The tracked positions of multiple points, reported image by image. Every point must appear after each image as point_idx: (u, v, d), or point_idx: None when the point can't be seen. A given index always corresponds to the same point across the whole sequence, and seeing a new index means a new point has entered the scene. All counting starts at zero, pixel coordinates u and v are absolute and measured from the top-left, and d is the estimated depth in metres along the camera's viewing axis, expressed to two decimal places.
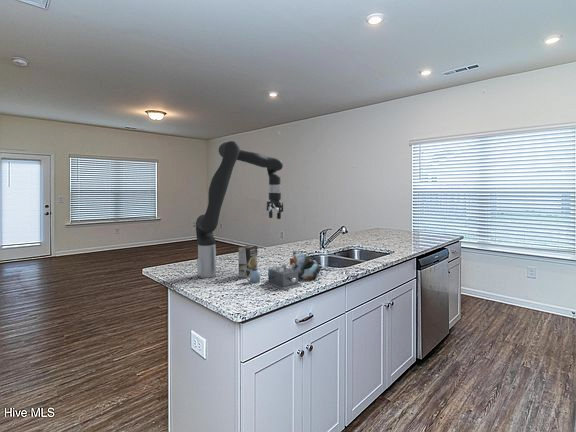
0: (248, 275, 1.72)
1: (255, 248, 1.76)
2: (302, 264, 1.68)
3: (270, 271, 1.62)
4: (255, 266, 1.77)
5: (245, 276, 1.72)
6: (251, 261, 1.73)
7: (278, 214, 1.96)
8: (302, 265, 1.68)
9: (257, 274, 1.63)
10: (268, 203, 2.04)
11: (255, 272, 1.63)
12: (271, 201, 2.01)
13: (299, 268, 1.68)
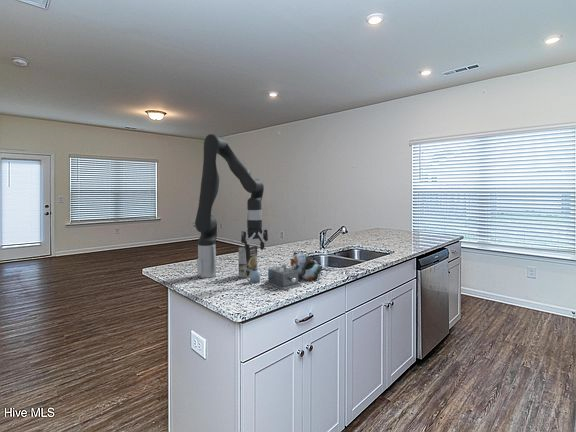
0: (248, 275, 1.72)
1: (255, 248, 1.76)
2: (303, 264, 1.68)
3: (270, 271, 1.62)
4: (255, 266, 1.77)
5: (245, 276, 1.72)
6: (251, 261, 1.73)
7: (263, 244, 1.67)
8: (303, 265, 1.68)
9: (257, 274, 1.63)
10: (245, 233, 1.60)
11: (255, 272, 1.63)
12: (252, 230, 1.62)
13: (300, 268, 1.67)
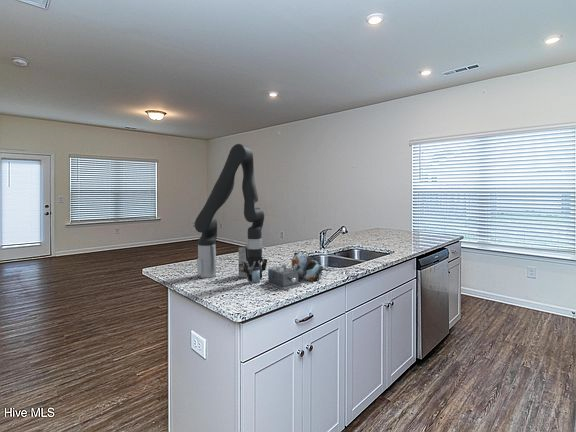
0: None
1: None
2: (304, 265, 1.67)
3: (270, 271, 1.62)
4: None
5: (245, 276, 1.72)
6: None
7: (261, 274, 1.67)
8: (304, 266, 1.67)
9: (257, 274, 1.63)
10: (246, 264, 1.61)
11: (255, 272, 1.63)
12: (252, 259, 1.63)
13: (301, 269, 1.66)
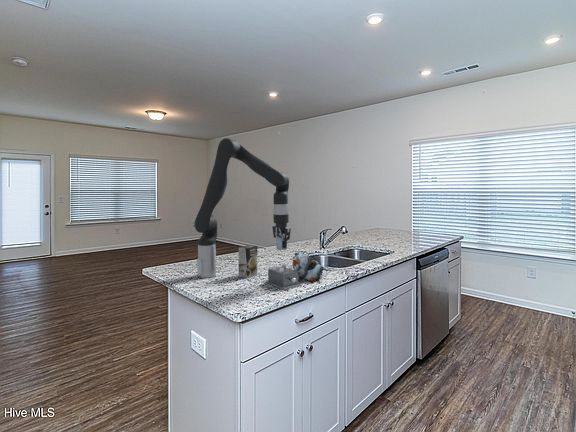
0: (248, 275, 1.72)
1: (255, 248, 1.76)
2: (305, 265, 1.66)
3: (270, 271, 1.62)
4: (255, 266, 1.77)
5: (245, 276, 1.72)
6: (251, 261, 1.73)
7: None
8: (305, 266, 1.66)
9: None
10: None
11: None
12: None
13: (303, 269, 1.65)
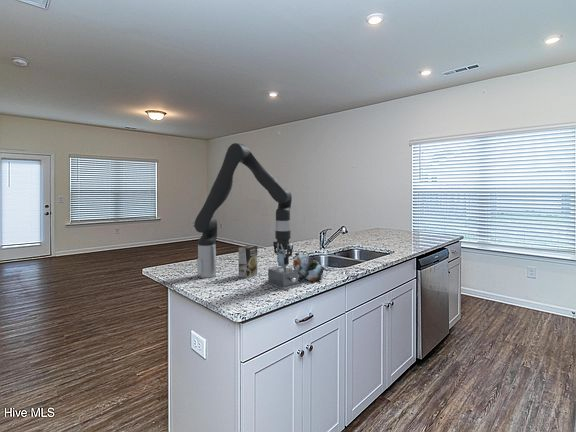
0: (248, 275, 1.72)
1: (255, 248, 1.76)
2: (306, 265, 1.65)
3: (270, 271, 1.62)
4: (255, 266, 1.77)
5: (245, 276, 1.72)
6: (251, 261, 1.73)
7: None
8: (306, 266, 1.66)
9: None
10: None
11: None
12: None
13: (303, 269, 1.64)
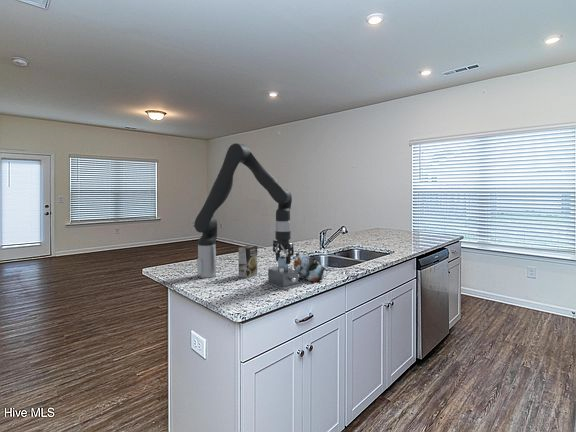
0: (248, 275, 1.72)
1: (255, 248, 1.76)
2: (307, 266, 1.65)
3: (270, 271, 1.62)
4: (255, 266, 1.77)
5: (245, 276, 1.72)
6: (251, 261, 1.73)
7: None
8: (307, 267, 1.65)
9: None
10: None
11: None
12: None
13: (304, 270, 1.64)
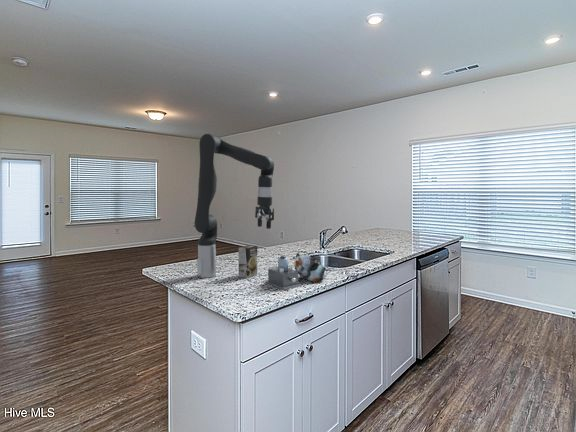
0: (248, 275, 1.72)
1: (255, 248, 1.76)
2: (308, 266, 1.64)
3: (270, 271, 1.62)
4: (255, 266, 1.77)
5: (245, 276, 1.72)
6: (251, 261, 1.73)
7: None
8: (308, 267, 1.64)
9: None
10: None
11: None
12: None
13: (305, 270, 1.63)
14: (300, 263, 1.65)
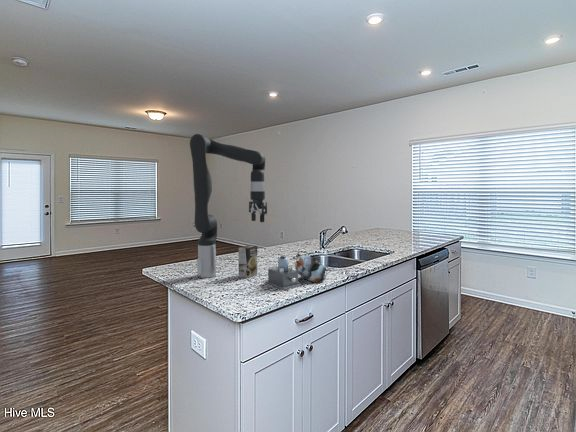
0: (248, 275, 1.72)
1: (255, 248, 1.76)
2: (309, 266, 1.64)
3: (270, 271, 1.62)
4: (255, 266, 1.77)
5: (245, 276, 1.72)
6: (251, 261, 1.73)
7: None
8: (309, 267, 1.64)
9: None
10: None
11: None
12: None
13: (306, 270, 1.63)
14: (301, 263, 1.64)
